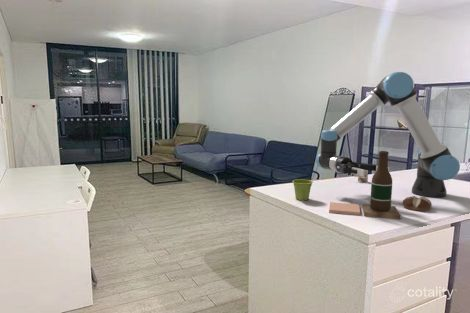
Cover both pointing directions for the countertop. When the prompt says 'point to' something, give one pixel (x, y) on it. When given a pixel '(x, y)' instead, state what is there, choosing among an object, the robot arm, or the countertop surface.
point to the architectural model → (363, 179)
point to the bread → (417, 203)
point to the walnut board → (370, 212)
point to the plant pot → (302, 188)
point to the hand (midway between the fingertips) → (376, 172)
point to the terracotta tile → (344, 208)
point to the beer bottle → (381, 185)
